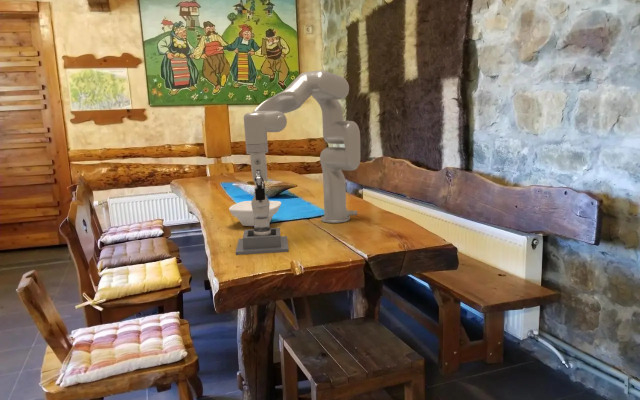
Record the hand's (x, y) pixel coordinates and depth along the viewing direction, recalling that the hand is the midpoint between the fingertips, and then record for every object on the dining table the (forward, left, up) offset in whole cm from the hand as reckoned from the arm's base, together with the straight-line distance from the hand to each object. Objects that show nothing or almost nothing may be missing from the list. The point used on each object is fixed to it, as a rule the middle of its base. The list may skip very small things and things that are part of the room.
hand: (260, 197), depth 169 cm
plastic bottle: (0, 0, -17) cm, 17 cm away
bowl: (+3, -34, -18) cm, 38 cm away
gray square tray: (0, 0, -18) cm, 18 cm away
